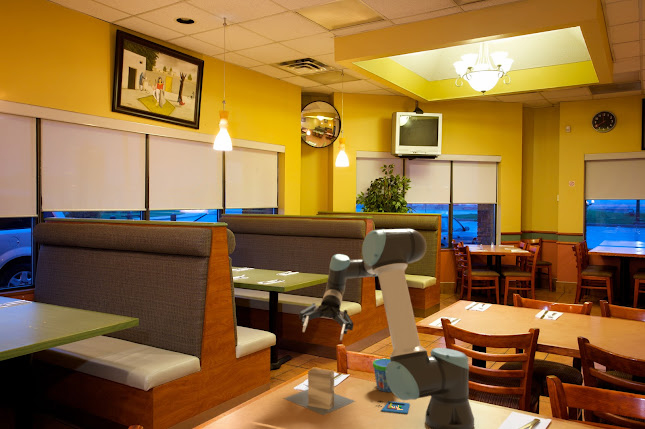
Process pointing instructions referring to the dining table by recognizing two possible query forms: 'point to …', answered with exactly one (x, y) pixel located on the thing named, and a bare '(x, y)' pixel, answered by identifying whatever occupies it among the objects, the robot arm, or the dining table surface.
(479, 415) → the dining table surface
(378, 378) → the snack cup
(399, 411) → the handheld gaming device
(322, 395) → the birch board
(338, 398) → the mat
